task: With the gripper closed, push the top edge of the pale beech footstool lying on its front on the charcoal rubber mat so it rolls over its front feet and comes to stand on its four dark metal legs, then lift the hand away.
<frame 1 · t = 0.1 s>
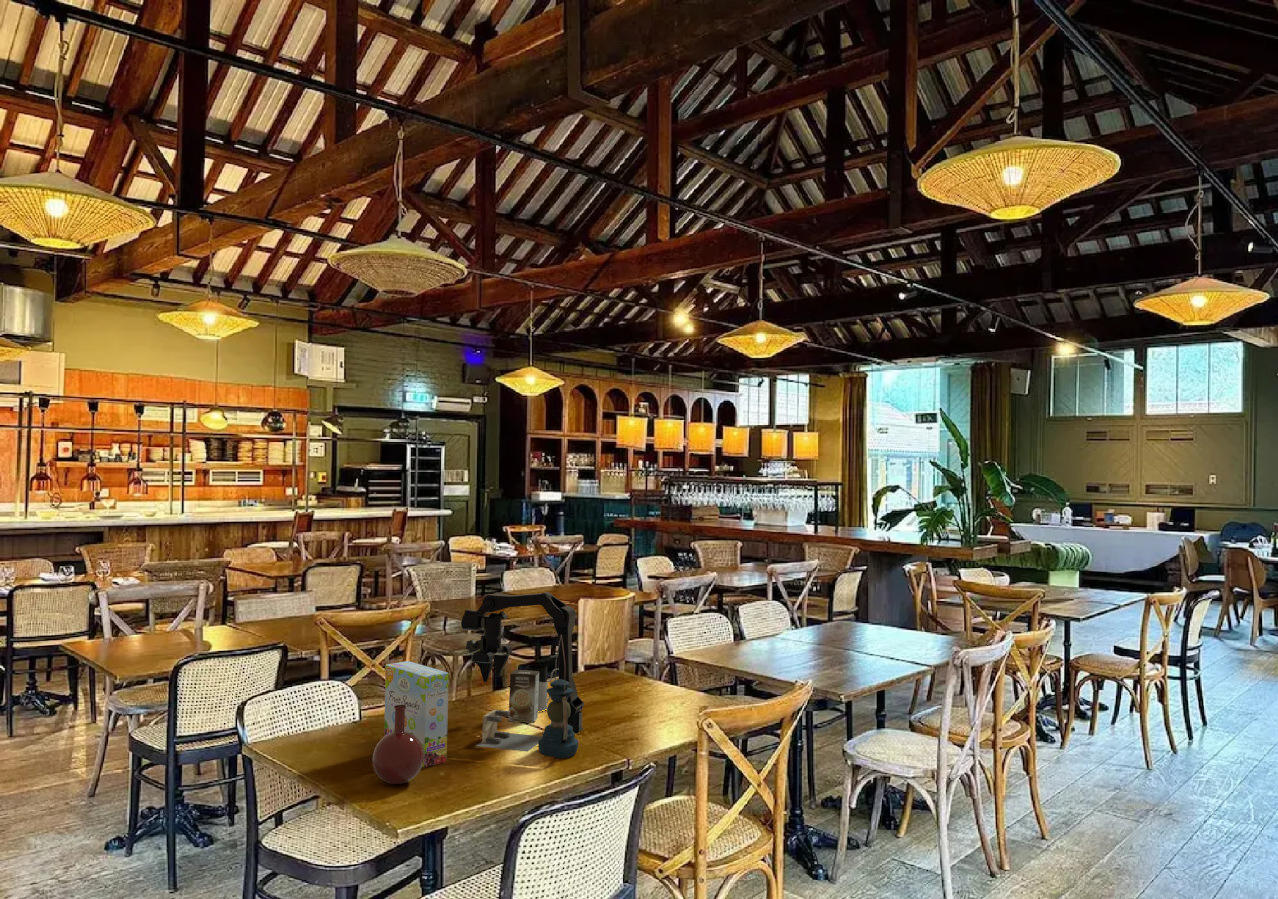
hand: (491, 679, 290), 15 cm above the table, tool pointing down, fingers open, 9 cm apart
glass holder: (543, 709, 311), on the table
lantern: (558, 753, 259), on the table
snack box: (414, 758, 253), on the table
coffee box: (523, 720, 295), on the table
round-bottom flask: (397, 783, 231), on the table
rubber mat: (511, 743, 268), on the table
footstool: (504, 740, 269), resting on rubber mat
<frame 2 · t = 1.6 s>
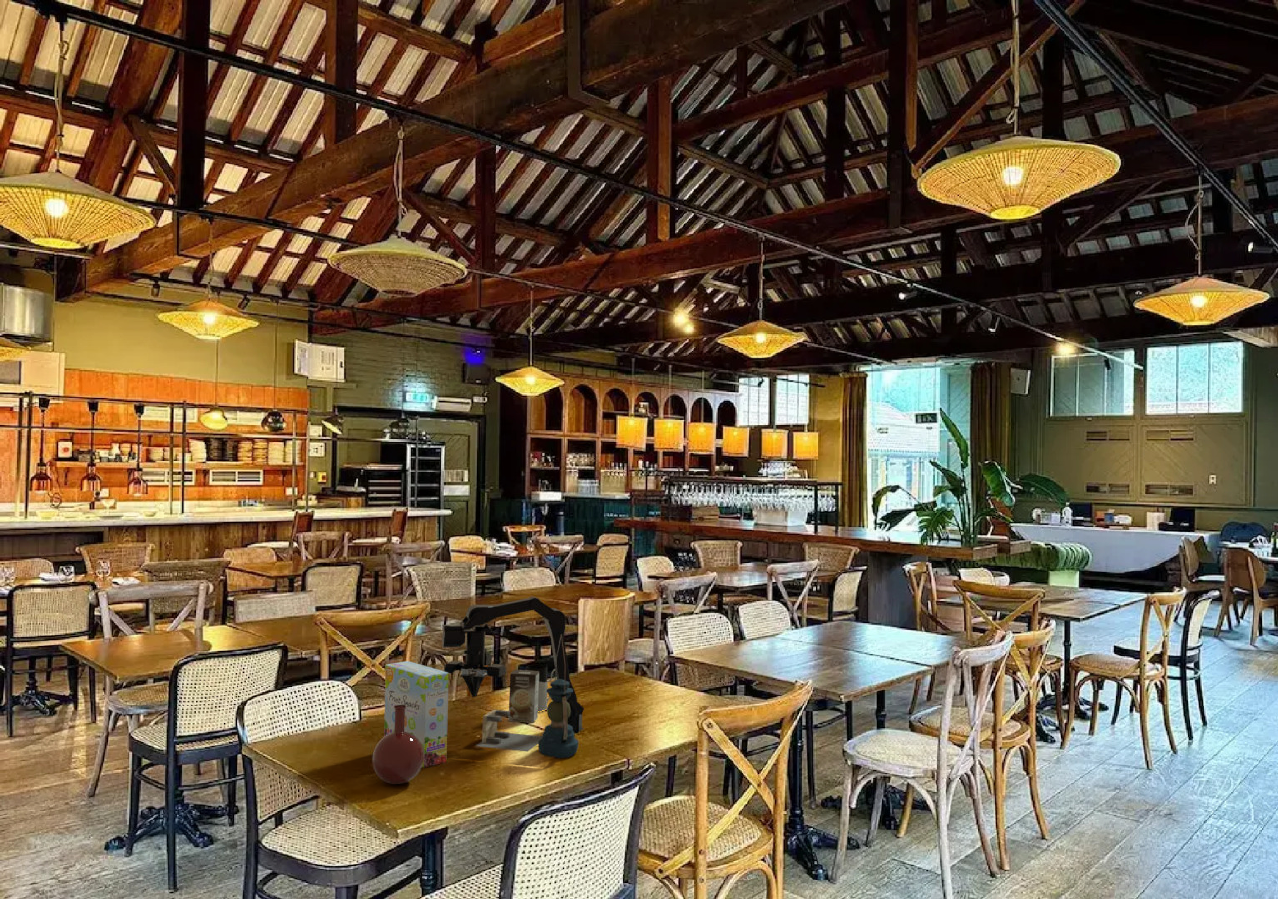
hand: (474, 696, 272), 13 cm above the table, tool pointing down, fingers closed
nothing on the table moved.
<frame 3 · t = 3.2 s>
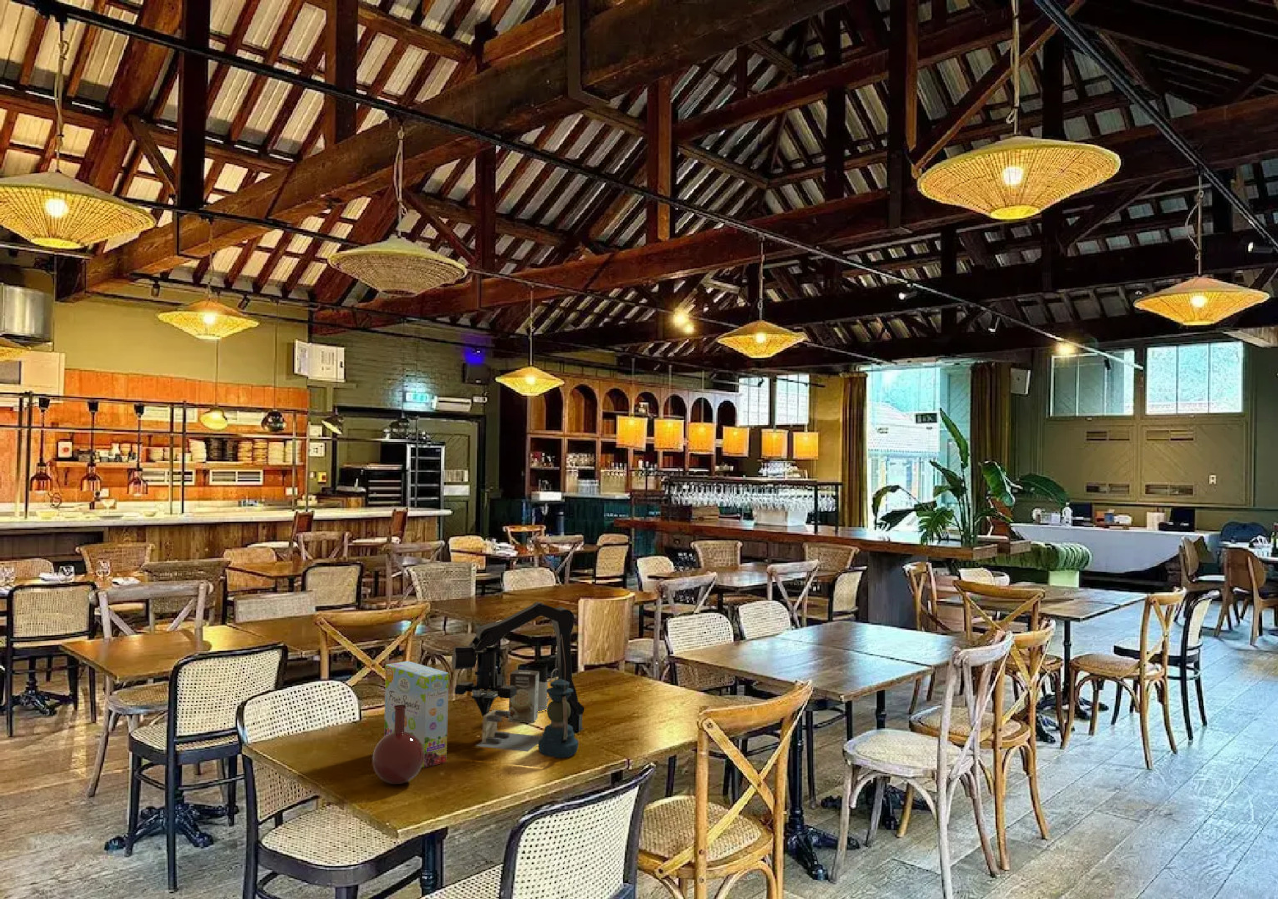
hand: (485, 717, 271), 7 cm above the table, tool pointing down, fingers closed
footstool: (504, 740, 269), resting on rubber mat, touching gripper
everything else where it was.
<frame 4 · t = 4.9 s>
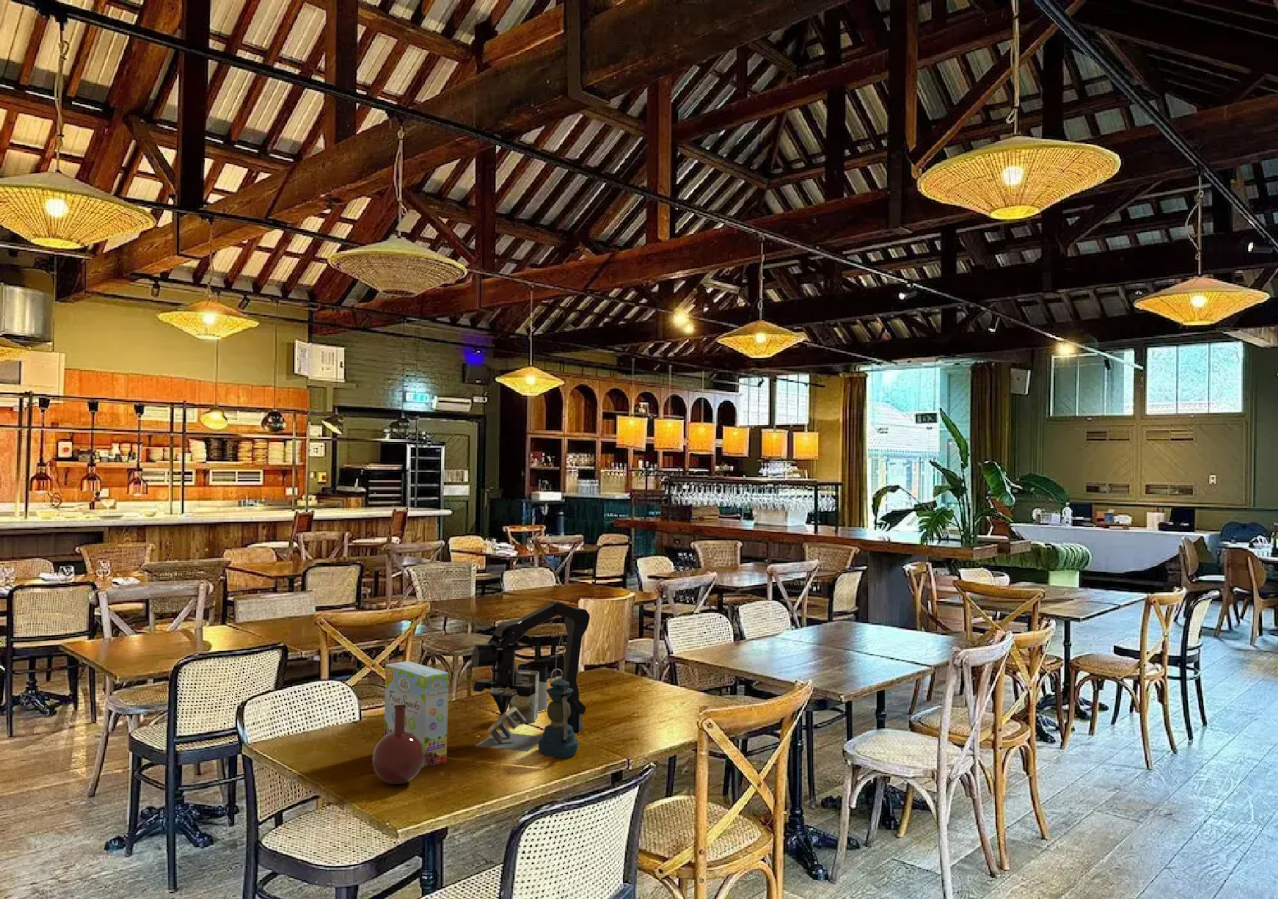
hand: (503, 715, 270), 8 cm above the table, tool pointing down, fingers closed
footstool: (504, 740, 269), resting on rubber mat, tilted 44°, touching gripper
everything else where it was.
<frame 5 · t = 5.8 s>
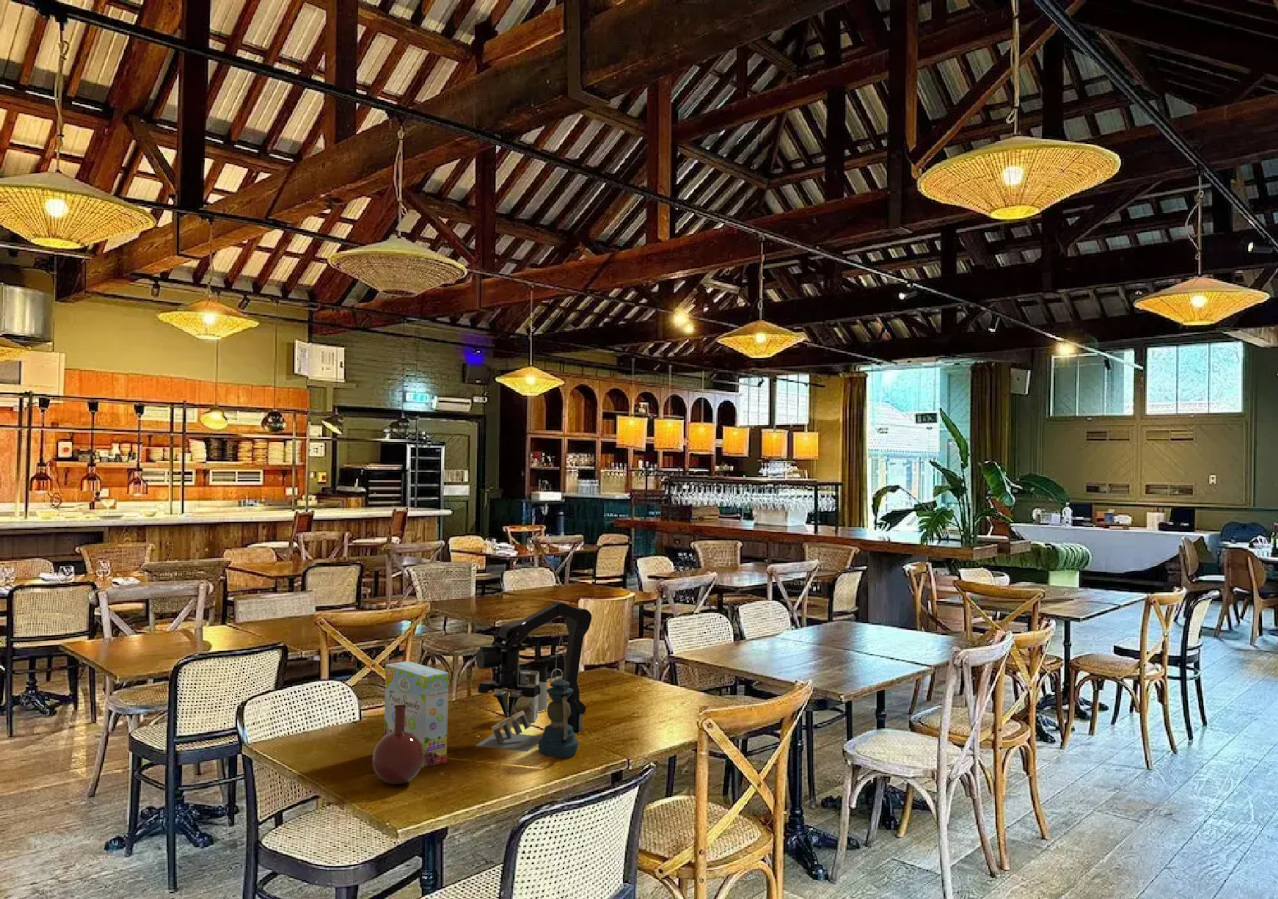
hand: (508, 717, 269), 8 cm above the table, tool pointing down, fingers closed
footstool: (504, 740, 269), resting on rubber mat, tilted 61°, touching gripper
everything else where it was.
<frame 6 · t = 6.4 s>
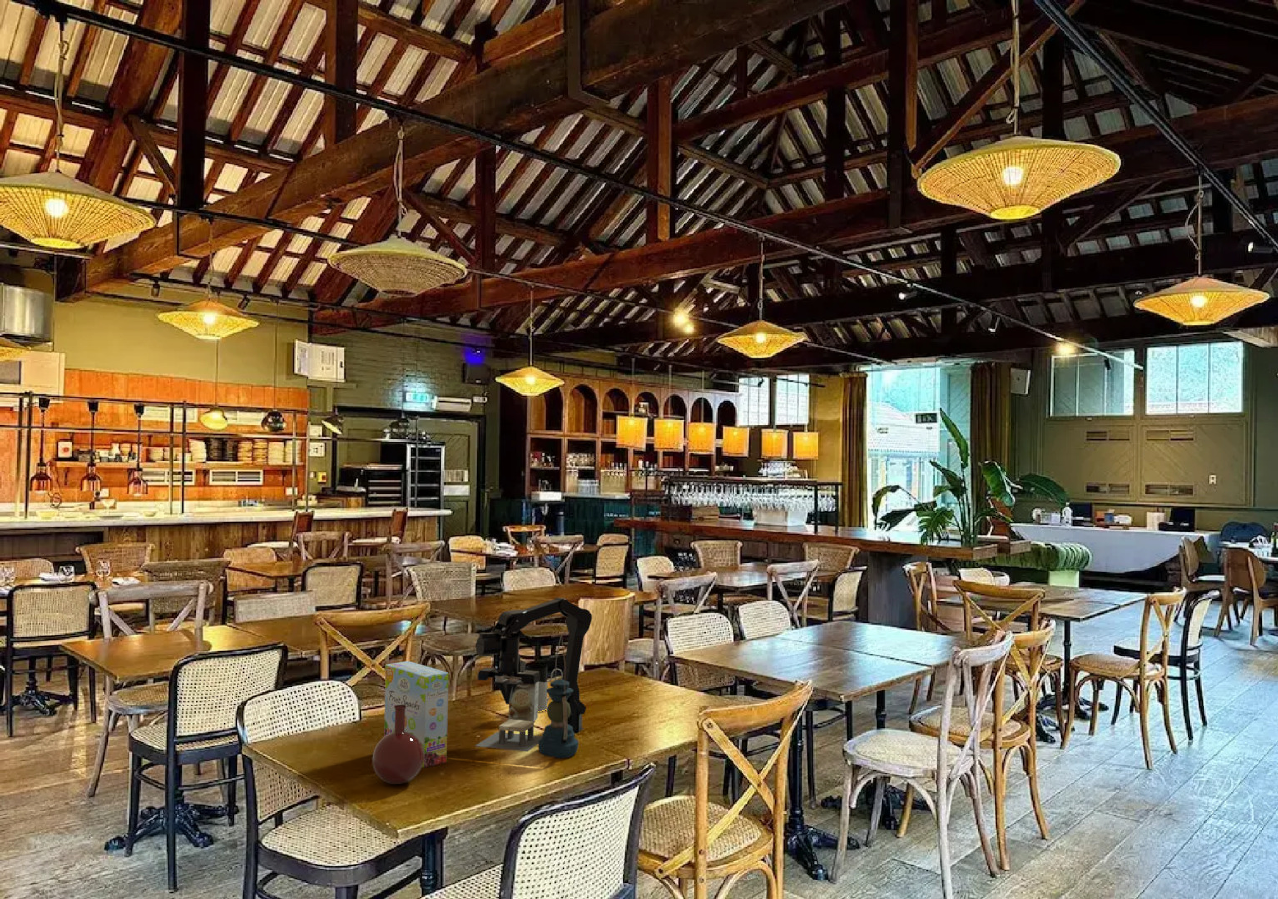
hand: (507, 704, 269), 12 cm above the table, tool pointing down, fingers closed
footstool: (504, 740, 269), resting on rubber mat, tilted 90°
everything else where it was.
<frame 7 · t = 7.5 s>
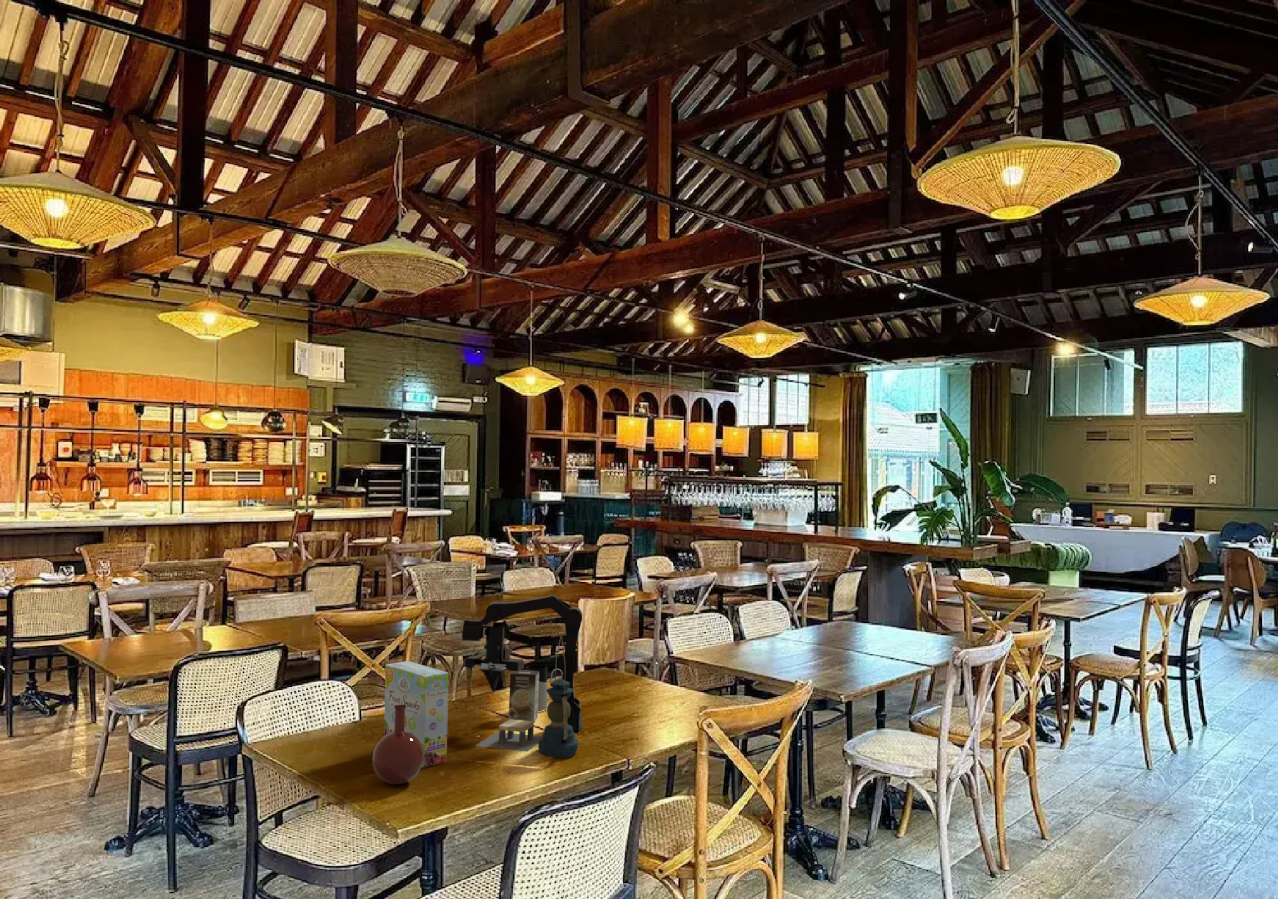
hand: (493, 690, 282), 13 cm above the table, tool pointing down, fingers closed
nothing on the table moved.
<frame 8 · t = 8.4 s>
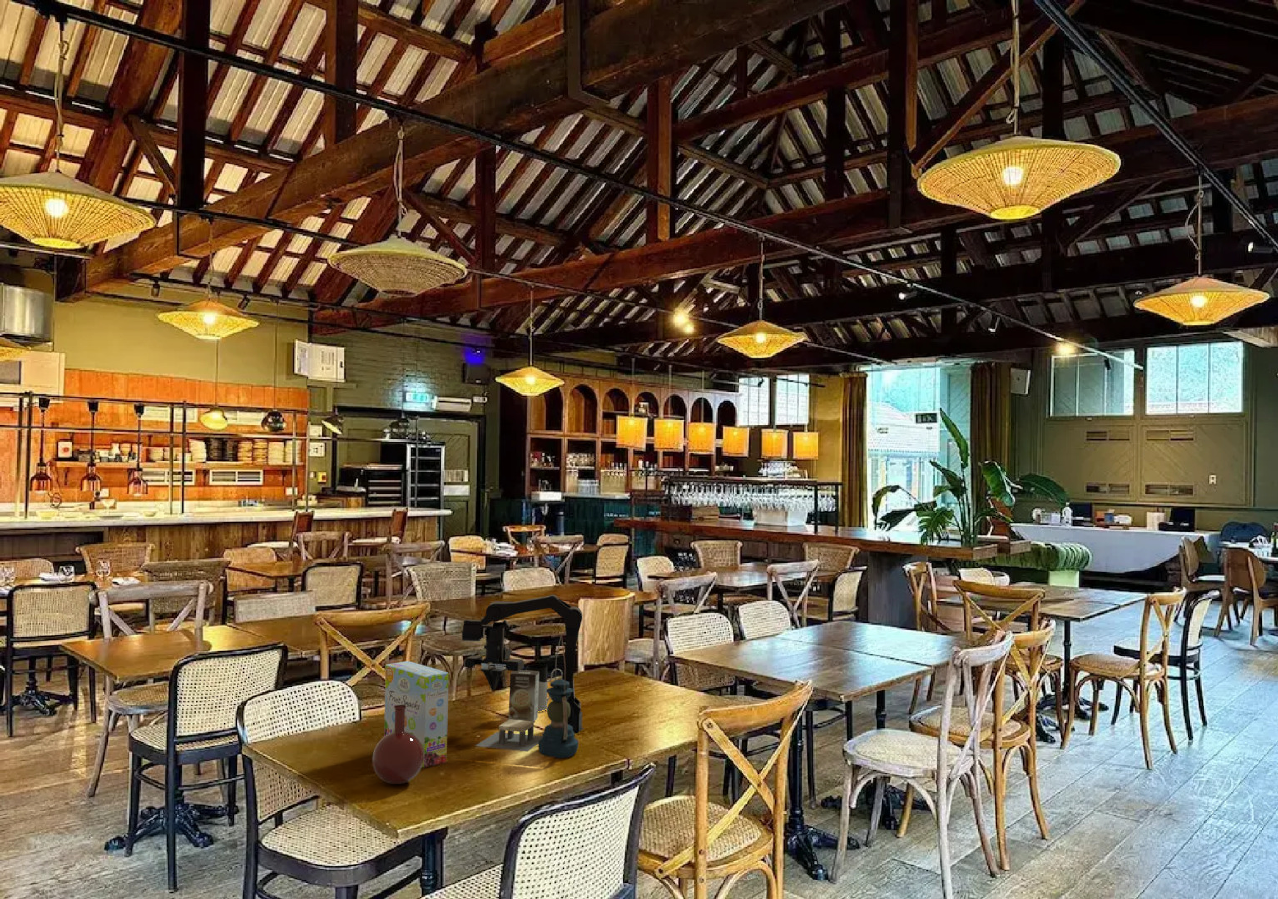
hand: (493, 690, 282), 13 cm above the table, tool pointing down, fingers closed
nothing on the table moved.
at the end: footstool tilted 90°; footstool inside the target area (0.2 cm from its centre), point 0.5 cm above the table; footstool touching rubber mat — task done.
